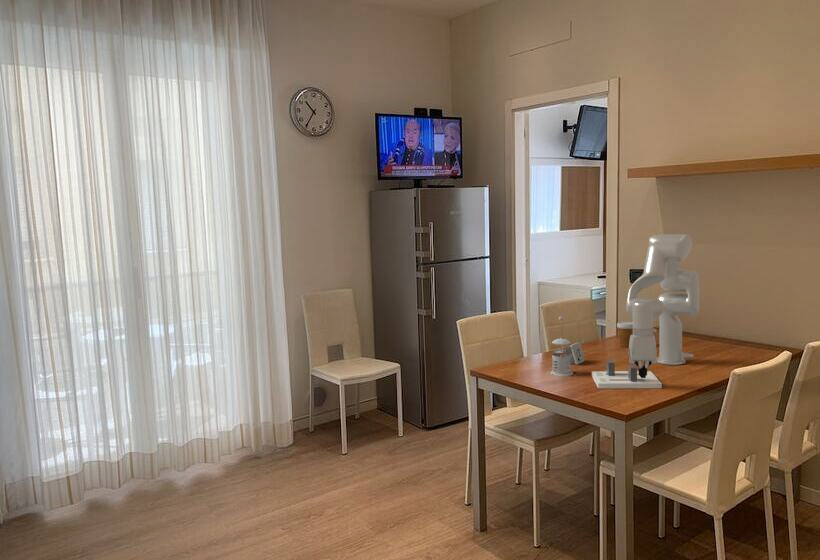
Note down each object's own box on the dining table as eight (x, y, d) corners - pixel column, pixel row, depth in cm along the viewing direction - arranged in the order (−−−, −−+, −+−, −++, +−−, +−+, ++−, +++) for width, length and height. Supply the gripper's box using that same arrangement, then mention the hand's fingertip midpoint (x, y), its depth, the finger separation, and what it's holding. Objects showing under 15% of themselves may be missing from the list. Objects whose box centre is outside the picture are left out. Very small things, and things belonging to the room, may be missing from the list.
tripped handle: (634, 377, 258) (634, 365, 257) (637, 380, 253) (637, 368, 252) (628, 377, 258) (628, 365, 258) (630, 381, 253) (630, 368, 253)
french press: (550, 376, 274) (549, 318, 272) (549, 369, 286) (548, 314, 283) (574, 376, 273) (573, 318, 270) (572, 369, 284) (571, 313, 281)
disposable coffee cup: (618, 343, 331) (618, 321, 330) (637, 344, 327) (637, 321, 326) (615, 347, 323) (615, 324, 322) (635, 348, 319) (635, 325, 317)
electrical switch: (577, 365, 291) (575, 345, 290) (566, 365, 294) (564, 345, 294) (585, 361, 298) (583, 341, 297) (575, 361, 301) (573, 341, 301)
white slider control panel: (650, 375, 268) (650, 358, 267) (661, 388, 249) (661, 369, 249) (591, 375, 272) (591, 358, 271) (598, 388, 253) (598, 369, 252)
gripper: (659, 330, 255) (659, 374, 257) (621, 330, 258) (621, 375, 260) (664, 333, 248) (664, 379, 250) (625, 334, 250) (625, 379, 252)
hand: (642, 377), depth 255 cm, fingers closed
